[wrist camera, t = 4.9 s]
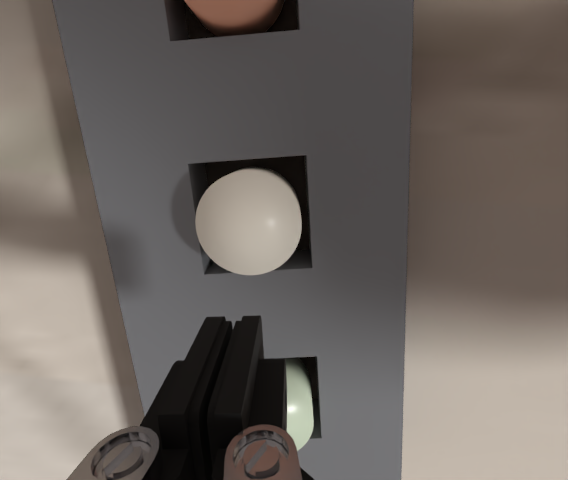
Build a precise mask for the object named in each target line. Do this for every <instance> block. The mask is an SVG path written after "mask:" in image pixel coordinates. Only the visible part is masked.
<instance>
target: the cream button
mask: <svg viewBox="0 0 568 480" xmlns="http://www.w3.org/2000/svg"><path fill="white" fill-rule="evenodd" d="M195 225H196V232H197V236H198V239H199V242H200V244H201V246H202V248H203V249H204V251H205V252H206V254H207V255H208V256H209V257H210V258H211V259H212V260H213V261H214V262H215V263H216V264H218V265H219V266H220V267H222V268H224V269H226V270H228V271H230V272H233V273H237V274H241V275H260V274H264V273H267V272H270V271H273V270H274V269H276V268H278V267H280V266H281V265H282V264H284V263H285V262H286V261H287V260H288V259H289V258H290V257H291V255H292V254H293V253H294V251H295V249H296V247H297V245H298V243H299V240H300V236H301V230H302V221H301V212H300V204H299V200H298V196H297V194H296V192H295V190H294V188H293V187H292V185H291V184H290V183H289V181H288V180H287V179H286V178H284V177H283V176H282V175H280V174H279V173H277V172H275V171H273V170H271V169H268V168H264V167H246V168H242V169H239V170H237V171H235V172H232V173H230V174H228V175H226V176H224V177H222V178H220V179H219V180H217V181H216V182H214V183H213V184H212V185H211V186H210V187H209V188H208V189H207V190H206V191H205V193H204V194H203V196H202V198H201V200H200V202H199V204H198V207H197V211H196V219H195Z"/></svg>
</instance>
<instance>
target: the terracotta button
mask: <svg viewBox="0 0 568 480" xmlns="http://www.w3.org/2000/svg"><path fill="white" fill-rule="evenodd" d="M184 1H185V2H186V3H187V5H188V6H189V7H190V9H191V10H192V11H193V13H194V14H195V15H196V17H197V18H198V19H199V21H200V22H201V23H202V24H203V25H204V27H205V28H206V29H208V30H209V31H210V32H211V33H213V34H214V35H216V36H218V37H224V36H235V35H246V34H257V33H264V32H266V31H267V30H268V29H269V28H270V27H271V26H272V25H273V24H274V22H275V21H276V19H277V18H278V16H279V14H280V12H281V10H282V7H283V4H284V0H184Z"/></svg>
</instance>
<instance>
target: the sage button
mask: <svg viewBox="0 0 568 480" xmlns="http://www.w3.org/2000/svg"><path fill="white" fill-rule="evenodd" d="M285 360H286V377H287V433H288V434H289V435H290V436H291V437H292V438H293V440H294V443H295V445H296V448H297V451H298V450H299V449H301V448H302V447H303V446H304V445H305V444H306V443H307V441H308V440H309V438H310V437H311V434H312V431H313V426H314V420H313V406H312V393H311V380H310V375H309V372H308V369H307V367H306V366H305V364H304V363H303V362H302V361H301V360H300V359H299V358H298V357H295V358H285Z"/></svg>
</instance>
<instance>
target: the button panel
mask: <svg viewBox="0 0 568 480" xmlns="http://www.w3.org/2000/svg"><path fill="white" fill-rule="evenodd" d="M52 2H53V6H54V11H55V15H56V20H57V24H58V29H59V33H60V38H61V42H62V47H63V51H64V56H65V60H66V65H67V69H68V74H69V78H70V83H71V87H72V92H73V96H74V101H75V105H76V110H77V114H78V119H79V123H80V128H81V132H82V137H83V141H84V146H85V150H86V155H87V159H88V164H89V168H90V173H91V177H92V182H93V186H94V191H95V195H96V200H97V204H98V209H99V213H100V218H101V222H102V227H103V231H104V236H105V240H106V245H107V249H108V254H109V258H110V263H111V267H112V272H113V276H114V281H115V285H116V290H117V294H118V299H119V303H120V308H121V312H122V317H123V321H124V326H125V330H126V335H127V339H128V344H129V348H130V353H131V357H132V362H133V366H134V371H135V375H136V380H137V384H138V389H139V393H140V398H141V402H142V407H143V411H144V416H145V415H146V413H147V412H148V410H149V408H150V406H151V404H152V402H153V401H154V399H155V397H156V395H157V393H158V391H159V390H160V388H161V386H162V384H163V382H164V380H165V378H166V377H167V375H168V373H169V371H170V369H171V367H172V366H173V364H174V363H175V361H178V360H185V358H186V356H187V354H188V352H189V350H190V348H191V346H192V344H193V342H194V340H195V338H196V336H197V334H198V332H199V330H200V328H201V326H202V324H203V322H204V320H205V318H206V317H220V316H225V318H226V321H231V322H232V327H233V328H234V325H235V322H236V321H241V320H242V317H243V316H258V315H261V319H262V333H263V348H264V359H270V358H295V357H315V358H316V376H317V395H318V399H312V406H313V420H314V426H313V431H312V434H311V437H310V438H309V440H308V441H307V443H306V444H305V445H304V446H303V447H302V448H301V449H299V450H298V451H297V454H298V459H299V464H300V467H301V468H302V469H303V470H304V471H305V472H307V473H308V474H309V475H310V476H311V477H312V478H313V479H314V480H401V469H402V430H403V392H404V354H405V315H406V277H407V239H408V200H409V162H410V124H411V85H412V47H413V9H414V0H296V12H297V30H290V31H279V32H268V33H257V34H246V35H235V36H224V37H213V38H202V39H190V40H189V37H188V29H187V22H186V14H185V7H184V0H52ZM300 155H304V158H305V176H306V194H307V212H308V231H309V249H306V250H295V251H294V253H293V254H292V255H291V257H290V258H289V259H288V260H287V261H286V262H285V263H284V264H282V265H281V266H280V267H278V268H276V269H274V270H273V271H270V272H267V273H264V274H260V275H241V274H237V273H233V272H230V271H228V270H226V269H224V268H222V267H220V266H219V265H218V264H216V263H215V262H214V261H213V260H212V259H211V258H210V257H209V256H208V255H207V254H206V252H205V251H204V249H203V248H202V246H201V244H200V242H199V239H198V236H197V232H196V225H195V219H196V211H197V207H198V204H199V202H200V200H201V198H202V196H203V194H204V193H205V191H206V190H207V189H208V181H207V173H206V166H205V163H206V162H219V161H233V160H246V159H260V158H273V157H287V156H300Z"/></svg>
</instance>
